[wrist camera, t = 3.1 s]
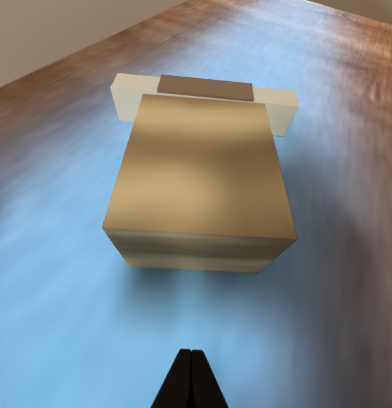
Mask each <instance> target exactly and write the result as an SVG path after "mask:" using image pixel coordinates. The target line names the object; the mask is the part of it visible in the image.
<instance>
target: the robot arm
mask: <svg viewBox="0 0 392 408" xmlns="http://www.w3.org/2000/svg"><path fill="white" fill-rule="evenodd" d="M151 408H229V407H228V405H227V403H226V401H225V398H224V396H223V394H222V392H221V389H220V387H219V385H218V383H217V381H216V378H215V376H214V374H213V372H212V369H211V367H210V365H209V363H208V360H207V358H206V356H205V354H204V352H203V351H202V350H192V352H191V350H190V349H180V350H179V352H178V354H177V356H176V358H175V360H174V362H173V364H172V366H171V368H170V370H169V372H168V374H167V376H166V378H165V380H164V382H163V384H162V386H161V388H160V390H159V392H158V394H157V396H156V398H155V400H154V402H153V404H152V406H151Z"/></svg>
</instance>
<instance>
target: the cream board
mask: <svg viewBox="0 0 392 408" xmlns="http://www.w3.org/2000/svg"><path fill="white" fill-rule="evenodd" d="M110 88H111V92H112V95H113V99H114V102H115V106H116V110H117V113H118V117H119V120H120V121H126V122H134V121H135V118H136V115H137V111H138V108H139V105H140V102H141V98H142V95H143V94H152V95H164V96H176V97H189V98H201V99H213V100H225V101H237V102H249V103H261V104H265V106H266V111H267V115H268V119H269V123H270V127H271V131H272V135H273V136H284V135H285V133H286V131H287V129H288V127H289V125H290V123H291V121H292V119H293V117H294V115H295V113H296V111H297V109H298V107H299V105H298V102H297V99H296V96H295V93H294V91H291V90H281V89H271V88H261V87H252V84H251V83H241V82H231V81H221V80H211V79H201V78H191V77H181V76H171V75H161V77H151V76H141V75H131V74H121V73H118V74H117V76H116V78H115V80H114V82H113V84H112V86H111V87H110Z"/></svg>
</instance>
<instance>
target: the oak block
mask: <svg viewBox="0 0 392 408" xmlns="http://www.w3.org/2000/svg"><path fill="white" fill-rule="evenodd" d="M102 228H103V230H104V231H105V233H106V234H107V236H108V237H109V238H110V240H111V241H112V243H113V244H114V246H115V247H116V248H117V250H118V251H119V253H120V254H121V256H122V257H123V258H124V260H125V261H126V263H127V264H128V266H129V267H146V268H164V269H183V270H202V271H221V272H240V273H258V272H259V271H261V270H262V269H263V268H264V267H265V266H267V265H268V264H269V263H270V262H271V261H272V260H274V259H275V258H276V257H277V256H278V255H280V254H281V253H282V252H283V251H284V250H286V249H287V248H288V247H289V246H290V245H291V244H293V243H294V242H295V241H296V240H297V239H298V238H297V234H296V230H295V226H294V222H293V218H292V214H291V210H290V205H289V201H288V197H287V193H286V189H285V185H284V181H283V177H282V172H281V168H280V164H279V160H278V156H277V152H276V148H275V144H274V139H273V135H272V131H271V127H270V123H269V119H268V115H267V111H266V106H265V104H261V103H249V102H237V101H225V100H213V99H201V98H189V97H176V96H164V95H152V94H143V95H142V98H141V102H140V105H139V108H138V111H137V115H136V118H135V121H134V124H133V128H132V131H131V134H130V137H129V141H128V144H127V147H126V151H125V154H124V157H123V160H122V164H121V167H120V170H119V173H118V177H117V180H116V183H115V186H114V190H113V193H112V196H111V200H110V203H109V206H108V209H107V213H106V216H105V219H104V222H103V226H102Z"/></svg>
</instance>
